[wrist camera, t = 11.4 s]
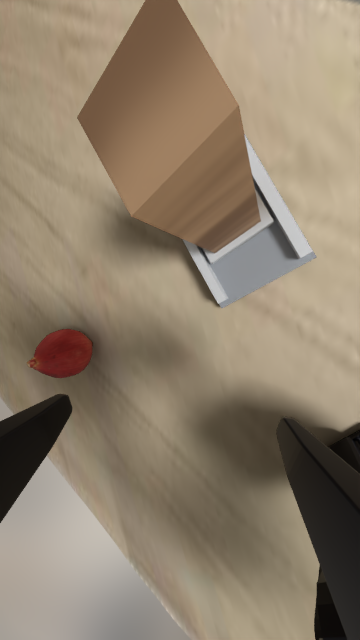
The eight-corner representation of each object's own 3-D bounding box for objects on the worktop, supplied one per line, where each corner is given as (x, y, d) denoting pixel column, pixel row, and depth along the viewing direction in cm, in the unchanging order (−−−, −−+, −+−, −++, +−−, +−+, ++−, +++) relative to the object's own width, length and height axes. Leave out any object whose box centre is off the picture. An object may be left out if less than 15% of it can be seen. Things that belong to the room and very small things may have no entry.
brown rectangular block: (273, 223, 15) (277, 93, 4) (213, 263, 17) (125, 241, 7) (241, 167, 15) (172, -81, 5) (186, 215, 18) (60, 123, 7)
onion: (106, 368, 27) (48, 400, 20) (77, 358, 29) (15, 383, 22) (106, 327, 26) (42, 346, 19) (75, 320, 28) (7, 334, 21)
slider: (314, 258, 15) (319, 255, 13) (223, 307, 19) (218, 310, 17) (219, 95, 16) (213, 74, 14) (149, 173, 19) (137, 164, 18)
